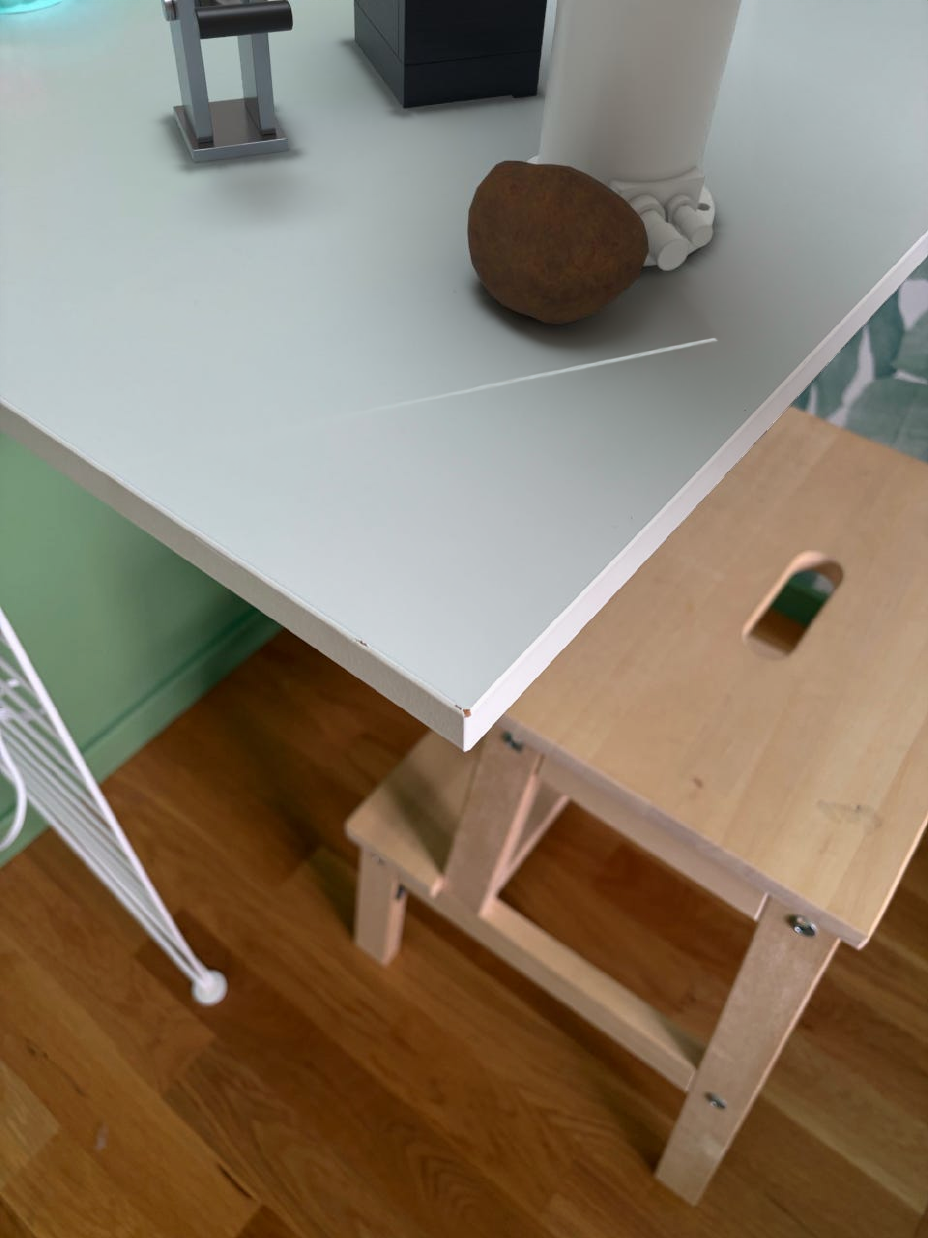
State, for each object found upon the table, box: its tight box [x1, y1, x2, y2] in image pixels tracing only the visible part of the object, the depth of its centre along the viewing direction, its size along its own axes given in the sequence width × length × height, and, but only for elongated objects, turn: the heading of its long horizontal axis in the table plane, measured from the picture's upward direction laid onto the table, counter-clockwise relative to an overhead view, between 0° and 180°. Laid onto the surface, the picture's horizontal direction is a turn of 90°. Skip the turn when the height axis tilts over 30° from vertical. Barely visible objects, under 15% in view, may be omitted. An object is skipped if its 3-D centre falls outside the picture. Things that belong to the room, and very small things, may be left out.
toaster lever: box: [193, 0, 294, 40], centre depth 58 cm, size 10×5×2 cm, turn 21°
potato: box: [466, 160, 649, 325], centre depth 54 cm, size 7×10×8 cm
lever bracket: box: [160, 0, 289, 164], centre depth 63 cm, size 6×6×10 cm
